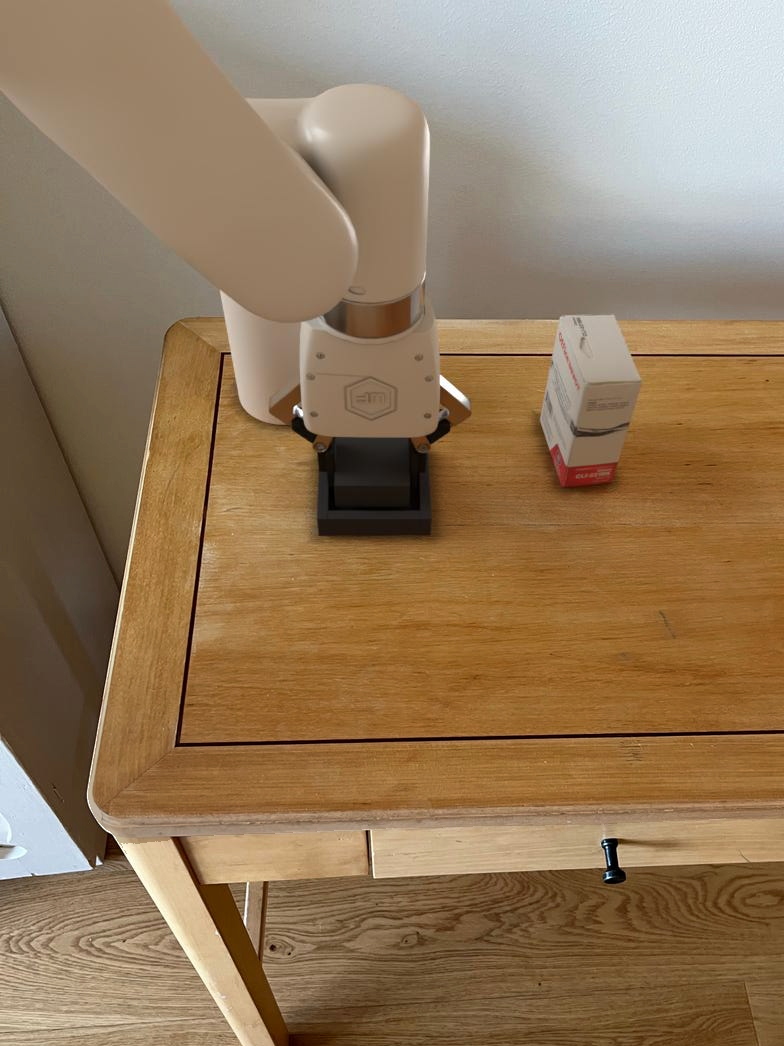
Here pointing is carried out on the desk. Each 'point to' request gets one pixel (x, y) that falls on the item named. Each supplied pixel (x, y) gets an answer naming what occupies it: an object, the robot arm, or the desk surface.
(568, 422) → the ink box
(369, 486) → the black pad
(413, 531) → the socket pad
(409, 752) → the desk surface
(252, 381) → the cup
